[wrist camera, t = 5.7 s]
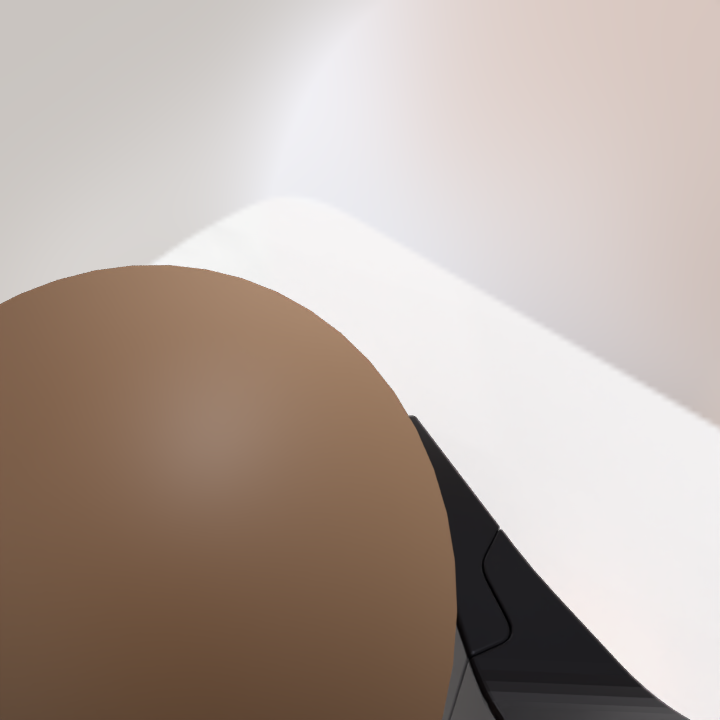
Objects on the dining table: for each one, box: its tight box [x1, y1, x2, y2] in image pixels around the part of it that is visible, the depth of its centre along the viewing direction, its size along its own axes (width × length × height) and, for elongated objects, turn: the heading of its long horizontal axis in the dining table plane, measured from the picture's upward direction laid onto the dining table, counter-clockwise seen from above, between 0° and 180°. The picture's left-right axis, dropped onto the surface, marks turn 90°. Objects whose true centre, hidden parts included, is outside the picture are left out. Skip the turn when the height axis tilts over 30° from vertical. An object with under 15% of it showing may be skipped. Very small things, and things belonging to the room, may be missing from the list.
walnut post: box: [0, 265, 457, 720], centre depth 9 cm, size 5×5×13 cm
